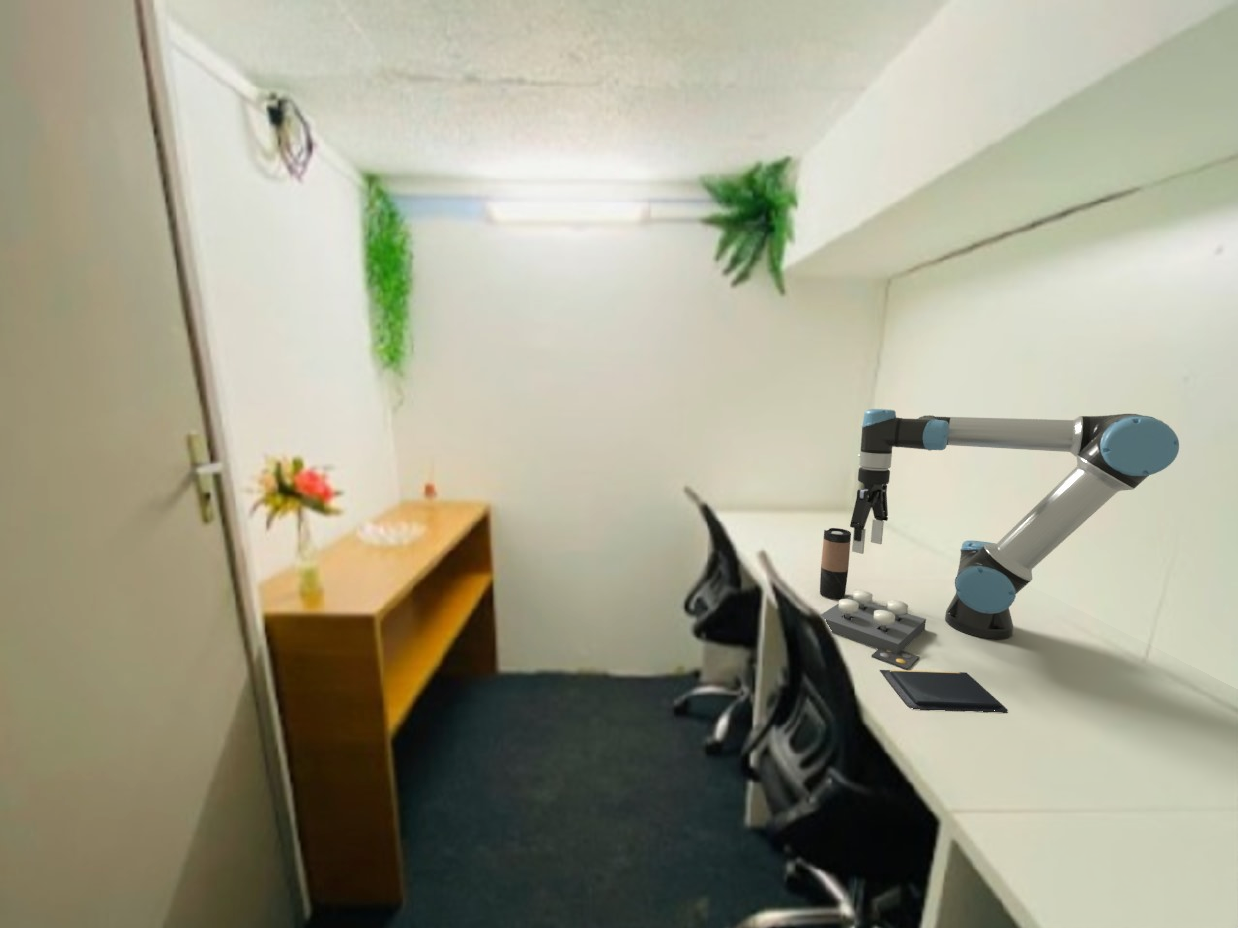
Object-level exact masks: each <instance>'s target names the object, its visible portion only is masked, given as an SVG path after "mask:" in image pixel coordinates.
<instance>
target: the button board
mask: <svg viewBox="0 0 1238 928" xmlns="http://www.w3.org/2000/svg"><path fill="white" fill-rule="evenodd" d="M845 599H849V600H853V595H849V596H848V597H847V598H845ZM853 601H854V600H853ZM858 604H859V605H860V603H858ZM838 607H839V602H838V603H837V604H835V605H833V606H832V607H831V608H829V609H827V610H825V612H823V613H821V614H820V615H821V616H822V617H823V618H824V619H826V622H827V624H828V625H829V627H830V629H831V630H832V632H833V633H832V632H831V633H832V634H835V635H838V636H841V637H843V638H846V639H849V640H852V641H854V642H856V643H857V642H858V643H860V644H863V645H865V646H869V647H871V648H873V649H876V650H878V649H879V648H881V649H884V650H886V651H887V650H888V651H891V652H892V653H895V654H898V653H899V652H900V651H901V650H903V651H905V649H906V648H907V647H908V646H909V645H910V644H911V643H913V641H914V640H916V639H917V638H918V637H919V636H920V635H921V634H922V633H923V632H924V631H925V630H926V623H927V619H926V618H924V617H920V616H918V615H914V614H910V613H908V612H907V614H906V615H899V621H897V620H895V623H894V625H892V626H886V631H885V632H884V631H881V630H880V627H881V625H880V624H878V623H876V622H874V620H873V617H874V611H876V610H885V611H887V606H884V605H881V604H877V603H874V602H872V603H871V604H864V610H862V609H859V608H858V613H856V614H850V620H849V619H846V618H845V613H844V612H841V611H840V610H839V609H838Z"/></svg>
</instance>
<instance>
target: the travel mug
mask: <svg viewBox="0 0 1238 928" xmlns="http://www.w3.org/2000/svg"><path fill="white" fill-rule="evenodd" d="M851 540H852V532H851V531H849V530H847V529H843V528H838V527H831V528H830V527H829V528H828V529H824V530H823V541H822V542H823V543H822V550H821V551H822V552H821V563H820V579H819V594H820V596H822V597H824V598H827V599H830V600H837V601H839V600H841V599H845V597H846V591H847V584H848V583H847V581H848V576H849V575H848V574H849V564H850V552H851V551H850V549H851Z"/></svg>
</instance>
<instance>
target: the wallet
mask: <svg viewBox="0 0 1238 928" xmlns="http://www.w3.org/2000/svg"><path fill="white" fill-rule="evenodd" d="M879 672H880V673H881V674H882V676H883V678H884V679H885V681H886V682H887V683H888V684H889V685H890V686H891V688H892V689H893V690H894V692H895V693H896V695H897V696H898V697H899V698H900V699H901V700H902V702H903V703H904V704H905V705H906V706H907V707H908V708H909V709H911V708H913V709H920V710H919V711H930V710H945V711H944V712H965V711H983V712H982V713H988V712H1003V713H1002V714H1008V712H1007V711H1008V709H1007V708H1006V707H1005V705H1004V704H1002V703H1001V702H1000V701H999V700H998V699H997V698H996V697H995V696H993V695H992V694H991V692H989V691H988V690H986V688H984V687H983V686H982V685H981V683H979V682H978V681H977V680H976V679H975V678H974V677H972V676H971V675H970V674H969V673H968V672H965V671H963V672H961V671H938V670H937V671H936V670H933V671H932V670H910V669H908V670H905V669H903V670H902V669H879ZM994 710H995V711H994Z"/></svg>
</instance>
